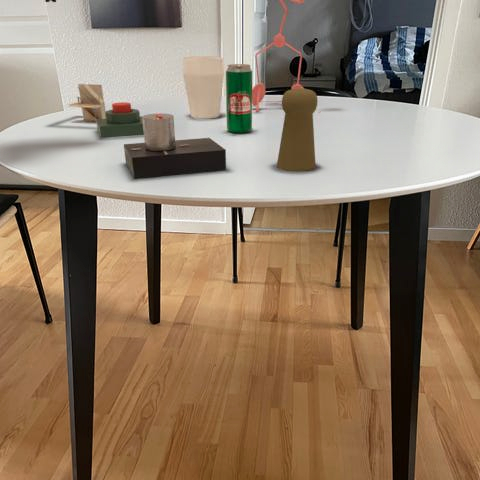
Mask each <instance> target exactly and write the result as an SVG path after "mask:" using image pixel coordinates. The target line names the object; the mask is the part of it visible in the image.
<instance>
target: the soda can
mask: <svg viewBox="0 0 480 480" xmlns="http://www.w3.org/2000/svg"><path fill="white" fill-rule="evenodd" d="M252 89H253V70H252V68H251V64H246V63H232V64H228V65H227V69H226V70H225V100H226V101H225V105H226V106H225V107H226V109H225V110H226V111H225V112H226V130H227V131H228V133H230V134H237V135H238V134H240V135H241V134H249V133H250V132H251V131H252V129H253V104H252Z"/></svg>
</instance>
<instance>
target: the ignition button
mask: <svg viewBox="0 0 480 480" xmlns="http://www.w3.org/2000/svg"><path fill="white" fill-rule="evenodd" d="M111 108H112V109H111V110H113V113H129V112H132V111H131V109H132V104H131V103H130V102H125V101H123V102H113V103H112V104H111Z"/></svg>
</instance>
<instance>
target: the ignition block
mask: <svg viewBox="0 0 480 480" xmlns="http://www.w3.org/2000/svg"><path fill="white" fill-rule="evenodd" d="M131 111H132V112H129V113H113V109H109V110H106V112H105V115H106V119H96V121H95V123H96V129H97V132H98V135H99V136H100V138H101V139H108V138H122V137H133V136H134V137H135V136H137V137H138V136H144V131H143V121H142V116H143V115H141V114H140V111H139V109H136V108H131Z"/></svg>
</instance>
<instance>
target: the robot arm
mask: <svg viewBox="0 0 480 480" xmlns="http://www.w3.org/2000/svg"><path fill="white" fill-rule="evenodd" d="M44 2H45V3H50V2H52V3H57V0H44Z"/></svg>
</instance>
